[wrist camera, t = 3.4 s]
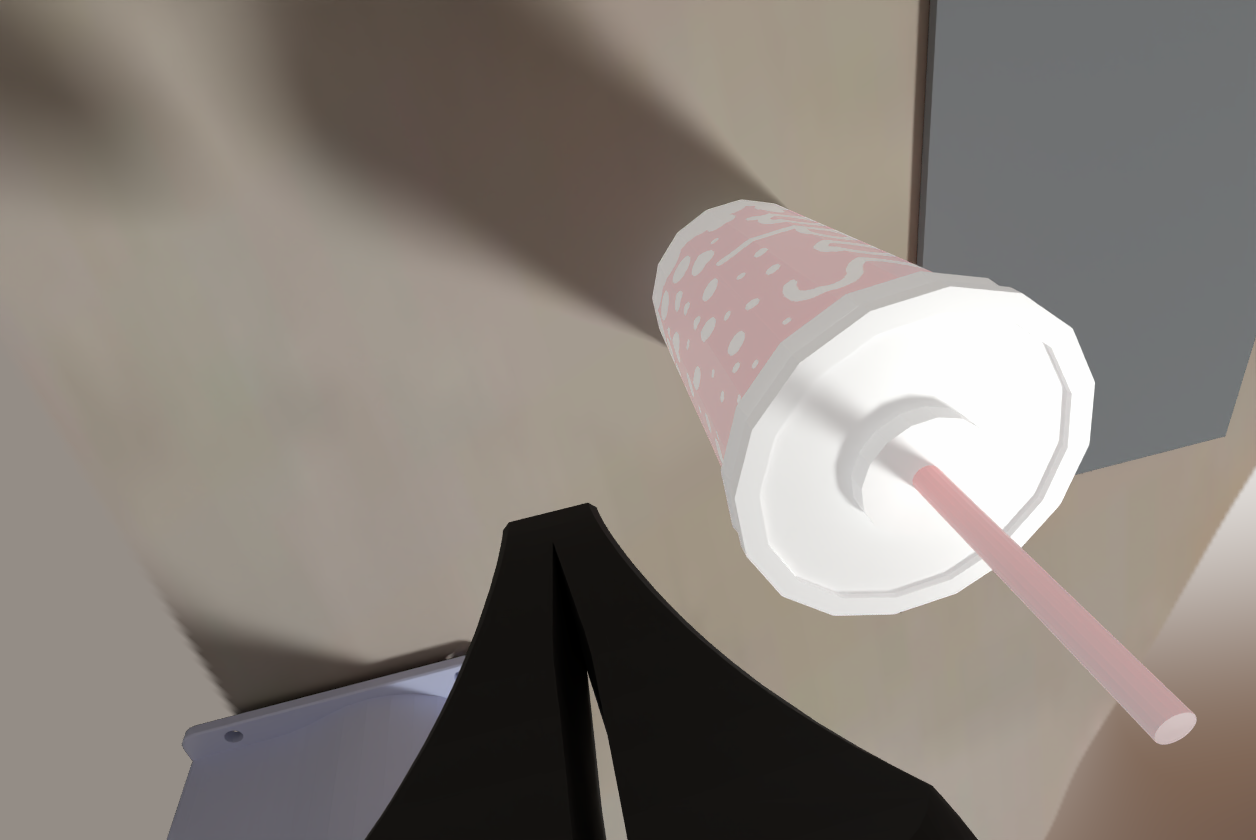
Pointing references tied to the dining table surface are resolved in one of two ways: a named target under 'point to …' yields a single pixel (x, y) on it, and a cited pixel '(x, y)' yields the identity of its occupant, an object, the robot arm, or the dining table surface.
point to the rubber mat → (1105, 193)
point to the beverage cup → (886, 425)
